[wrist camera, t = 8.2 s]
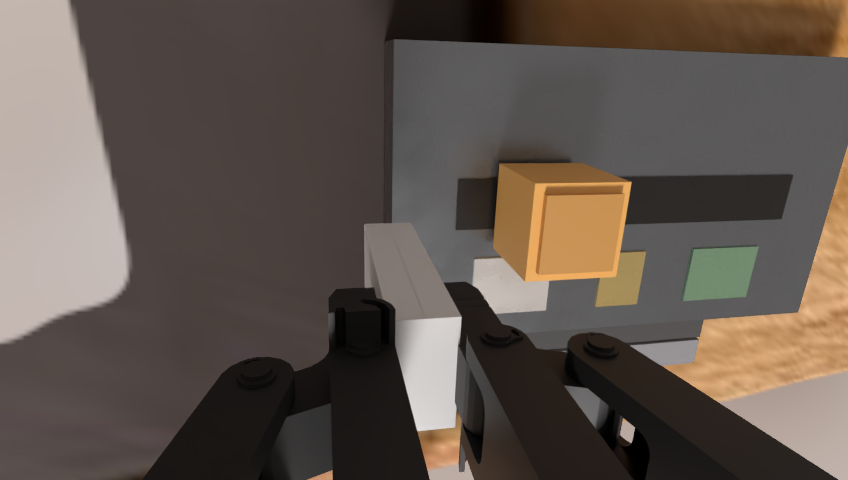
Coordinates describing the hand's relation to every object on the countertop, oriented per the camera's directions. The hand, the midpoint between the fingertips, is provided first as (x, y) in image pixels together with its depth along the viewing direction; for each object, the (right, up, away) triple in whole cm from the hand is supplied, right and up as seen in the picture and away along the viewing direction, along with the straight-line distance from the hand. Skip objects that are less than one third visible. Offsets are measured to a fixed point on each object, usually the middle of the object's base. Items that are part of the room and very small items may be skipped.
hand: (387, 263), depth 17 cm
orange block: (+6, +2, +7) cm, 10 cm away
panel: (+11, +4, +12) cm, 16 cm away
